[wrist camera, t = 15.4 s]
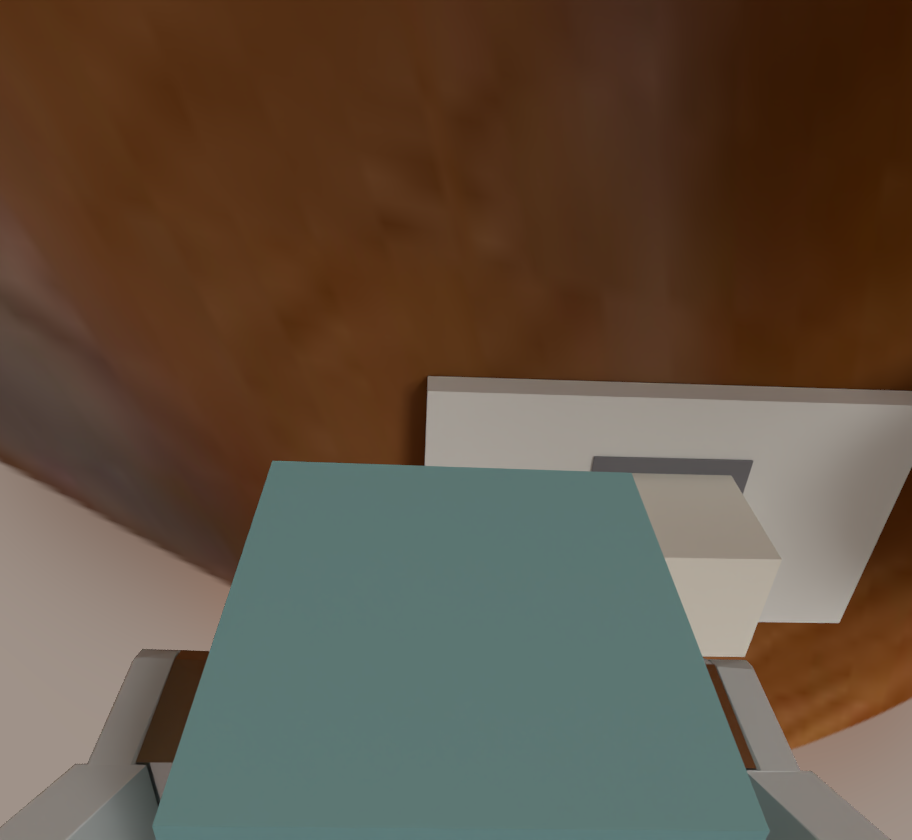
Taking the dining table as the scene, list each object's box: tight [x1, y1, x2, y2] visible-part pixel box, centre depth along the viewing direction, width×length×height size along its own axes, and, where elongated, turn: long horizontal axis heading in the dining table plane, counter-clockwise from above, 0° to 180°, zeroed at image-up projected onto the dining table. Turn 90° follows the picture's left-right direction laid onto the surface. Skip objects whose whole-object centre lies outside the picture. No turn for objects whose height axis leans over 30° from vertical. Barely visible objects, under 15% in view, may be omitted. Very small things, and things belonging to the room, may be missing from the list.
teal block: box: [152, 461, 770, 840], centre depth 9 cm, size 5×5×5 cm
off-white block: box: [632, 473, 782, 657], centre depth 29 cm, size 5×5×5 cm
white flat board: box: [424, 376, 912, 623], centre depth 31 cm, size 20×12×1 cm, turn 87°
